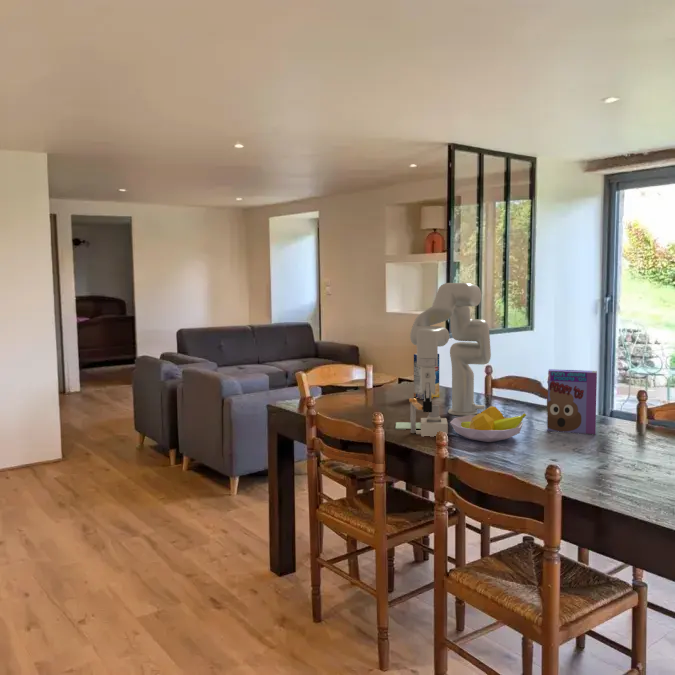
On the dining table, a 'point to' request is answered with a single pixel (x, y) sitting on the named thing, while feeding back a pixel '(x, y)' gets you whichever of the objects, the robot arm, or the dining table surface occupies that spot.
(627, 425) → the dining table surface
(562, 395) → the cereal box
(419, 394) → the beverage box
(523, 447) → the dining table surface
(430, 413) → the plug
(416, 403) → the bar
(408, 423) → the mat
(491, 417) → the fruit bowl
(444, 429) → the socket block
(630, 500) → the dining table surface
